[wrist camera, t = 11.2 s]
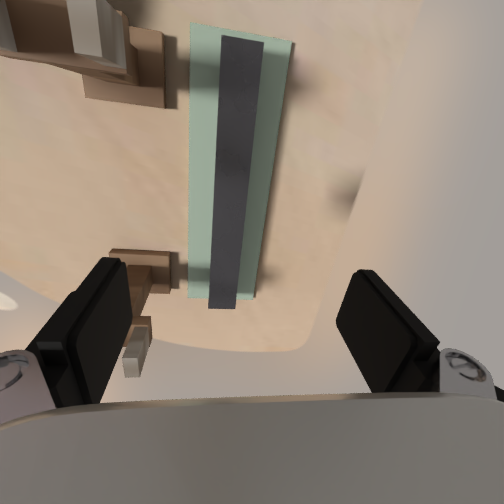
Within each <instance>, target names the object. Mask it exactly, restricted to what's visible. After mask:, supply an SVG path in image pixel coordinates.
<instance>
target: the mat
mask: <svg viewBox="0 0 504 504" xmlns="http://www.w3.org/2000/svg"><path fill="white" fill-rule="evenodd" d="M221 35H226V36H232V37H238V38H243V39H249V40H254V41H260V42H264V49H263V58H262V67H261V76H260V85H259V95H258V104H257V113H256V122H255V131H254V140H253V150H252V159H251V168H250V177H249V186H248V196H247V205H246V214H245V223H244V232H243V242H242V251H241V260H240V269H239V278H238V287H237V297H236V299H244V300H253V295H254V288H255V282H256V275H257V269H258V262H259V255H260V249H261V242H262V236H263V229H264V222H265V216H266V209H267V202H268V196H269V189H270V183H271V176H272V169H273V163H274V156H275V150H276V143H277V136H278V130H279V123H280V117H281V110H282V103H283V97H284V90H285V84H286V77H287V70H288V64H289V57H290V51H291V44H292V41H288V40H283V39H277V38H272V37H267V36H261V35H256V34H251V33H245V32H240V31H235V30H229V29H224V28H219V27H213V26H208V25H203V24H197V23H192V22H190V97H189V212H188V298H207V299H209V281H210V261H211V240H212V219H213V199H214V178H215V157H216V137H217V116H218V95H219V75H220V54H221Z"/></svg>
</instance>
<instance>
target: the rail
mask: <svg viewBox="0 0 504 504" xmlns="http://www.w3.org/2000/svg"><path fill="white" fill-rule="evenodd" d="M263 49H264V42H260V41H254V40H249V39H243V38H238V37H232V36H226V35H221V54H220V75H219V95H218V116H217V137H216V157H215V178H214V199H213V219H212V240H211V261H210V281H209V302H208V309H235V306H236V297H237V287H238V278H239V269H240V260H241V251H242V242H243V232H244V223H245V214H246V205H247V196H248V186H249V177H250V168H251V159H252V150H253V140H254V131H255V122H256V113H257V104H258V95H259V85H260V76H261V67H262V58H263Z"/></svg>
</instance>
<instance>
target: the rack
mask: <svg viewBox="0 0 504 504" xmlns="http://www.w3.org/2000/svg"><path fill="white" fill-rule="evenodd" d="M0 55H1V56H4V57H8V58H13V59H19V60H26V61H33V62H39V63H46V64H50V65H53V66H57V67H60V68H63V69H67V70H70V71H73V72H77V73H80V74H82V78H83V85H84V91H85V98H92V99H99V100H106V101H114V102H121V103H129V104H136V105H143V106H151V107H158V108H166V85H165V48H164V34H163V33H162V32H160V31H155V30H149V29H143V28H138V27H132V26H129V20H128V18H127V16H126V15H125V14H124V13H123V12H122V11H118V10H115V9H114V8H113V7H112V6H111V5H110V4H109V3H108V2H107V1H106V0H66V1H64V0H0ZM109 257H112V258H120V260H121V262H125V263H126V268H127V276H128V283H129V291H130V298H131V306H132V314H133V319H132V324H131V327H130V329H129V332H128V334H127V337H126V339H125V342H124V344H123V347H126V350H125V352H124V355H123V357H122V361H123V367H124V374H125V377H140V374H141V371H142V367H143V364H144V361H145V358H146V355H147V351H148V348H149V347H150V344H151V340H152V326H151V316H140V315H141V313H142V310H143V308H144V305H145V303H146V300H147V298H148V295H149V293H160V294H170V291H171V268H170V252H164V251H145V250H127V249H112V250H111V251H110V252H109Z"/></svg>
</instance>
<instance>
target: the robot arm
mask: <svg viewBox="0 0 504 504" xmlns="http://www.w3.org/2000/svg"><path fill="white" fill-rule="evenodd" d="M132 319H133V314H132V306H131V298H130V291H129V283H128V276H127V268H126V263H125V262H121V260H120V258H112V257H102V258H101V259H100V260H99V261H98V263H97V264H96V265H95V267H94V268H93V269H92V270H91V272H90V273H89V274H88V276H87V277H86V278H85V279H84V281H83V282H82V283H81V285H80V286H79V287H78V288H77V290H76V291H73V292H71V293H70V294H69V295H68V296H67V298H66V299H65V300H64V301H63V303H62V304H61V305H60V307H59V308H58V309H57V310H56V312H55V313H54V314H53V315H52V317H51V318H50V319H49V320H48V322H47V323H46V324H45V325H44V327H43V328H42V329H41V330H40V331H39V333H38V334H37V335H36V336H35V338H34V339H33V340H32V341H31V343H30V344H29V345H28V347H27V348H26V349H25V350H12V351H6V352H3V353H0V504H504V390H502V389H500V388H498V387H496V386H494V383H493V379H492V376H491V374H490V372H489V371H488V370H487V369H486V367H485V366H483V365H482V364H481V363H480V362H479V361H478V360H476V359H475V358H473V357H472V356H470V355H468V354H466V353H464V352H462V351H459V350H456V349H451V348H447V349H443V350H442V351H441V352H440V351H439V350H438V349H437V346H438V345H439V343H440V341H439V340H438V339H437V338H436V337H435V336H434V335H433V334H432V333H431V332H430V331H429V329H427V327H426V326H425V325H424V324H423V323H422V322H421V321H420V320H419V319H418V318H417V317H416V315H415V314H413V312H412V311H411V310H410V309H409V308H408V307H407V306H406V305H405V304H404V303H403V302H402V300H401V299H399V297H398V296H397V295H396V294H395V293H394V292H393V291H392V290H391V289H390V288H389V287H388V285H387V284H386V283H385V282H384V281H383V280H382V279H381V278H380V277H379V276H378V275H377V274H376V273H375V272H374V271H373V270H362V269H360V270H358V271H357V272H356V273H354V274H353V275H352V278H351V280H350V283H349V286H348V288H347V291H346V294H345V297H344V299H343V302H342V304H341V307H340V310H339V312H338V315H337V318H336V325H337V328H338V330H339V331H340V333H341V335H342V337H343V339H344V341H345V343H346V345H347V347H348V348H349V350H350V352H351V354H352V356H353V358H354V360H355V362H356V363H357V365H358V367H359V369H360V371H361V373H362V375H363V377H364V379H365V381H366V382H367V384H368V386H369V388H370V390H371V392H372V393H350V394H316V395H283V396H253V397H225V398H201V399H200V398H198V399H175V400H173V399H172V400H151V401H133V402H132V401H131V402H114V403H100V401H101V399H102V396H103V394H104V391H105V389H106V386H107V384H108V381H109V379H110V376H111V374H112V371H113V369H114V366H115V364H116V361H117V359H118V356H119V354H120V352H121V349H122V347H123V344H124V342H125V339H126V337H127V334H128V332H129V329H130V327H131V324H132Z"/></svg>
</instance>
